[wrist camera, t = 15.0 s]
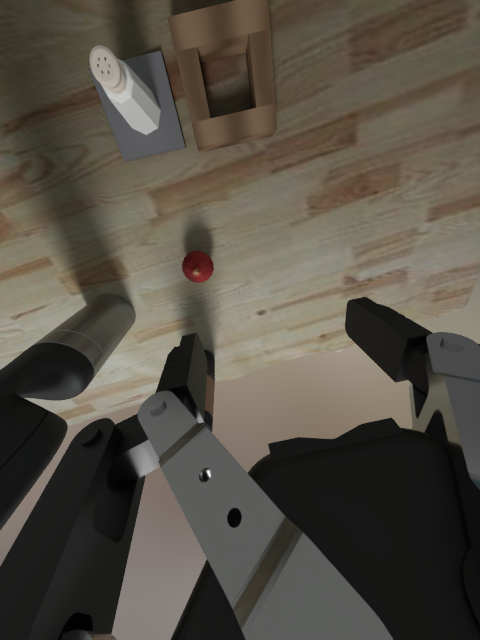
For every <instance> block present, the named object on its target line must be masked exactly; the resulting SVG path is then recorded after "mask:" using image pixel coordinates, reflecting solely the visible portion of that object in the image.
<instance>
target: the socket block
mask: <svg viewBox="0 0 480 640" xmlns="http://www.w3.org/2000/svg"><path fill="white" fill-rule="evenodd" d="M167 18H168V22H169V27H170V31H171V35H172V40H173V44H174V48H175V53H176V57H177V61H178V66H179V70H180V74H181V79H182V83H183V87H184V92H185V96H186V100H187V105H188V109H189V113H190V118H191V122H192V126H193V131H194V135H195V139H196V144H197V148H198V150H199V152H205V151H209V150H214V149H218V148H222V147H227V146H231V145H235V144H240V143H244V142H248V141H253V140H257V139H261V138H266V137H270V136H272V135H273V134H274V133H275V131H276V130H277V118H276V104H275V90H274V76H273V62H272V48H271V34H270V19H269V5H268V0H234V1H230V2H226V3H222V4H218V5H214V6H210V7H206V8H202V9H198V10H194V11H190V12H186V13H182V14H178V15H174V16H170V17H167ZM242 53H246V60H247V69H248V77H249V86H250V95H251V103H252V109H249V110H245V111H240V112H236V113H232V114H228V115H223V116H219V117H215V118H210V114H209V109H208V104H207V98H206V93H205V88H204V83H203V78H202V73H201V67H200V64H201V63H205V62H209V61H213V60H218V59H222V58H226V57H230V56H234V55H238V54H242Z"/></svg>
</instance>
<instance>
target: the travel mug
mask: <svg viewBox="0 0 480 640" xmlns="http://www.w3.org/2000/svg"><path fill="white" fill-rule="evenodd" d="M204 352H205V355H206V358H207V383H206V400H205V417H204V422H203V424H204V425H205V426H206V427H207V428H208V429H209V430H210V431H211V432H212V422H213V404H214V385H215V360H214V356H213V354H212V353H211V352H209V351H207V350H204Z"/></svg>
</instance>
